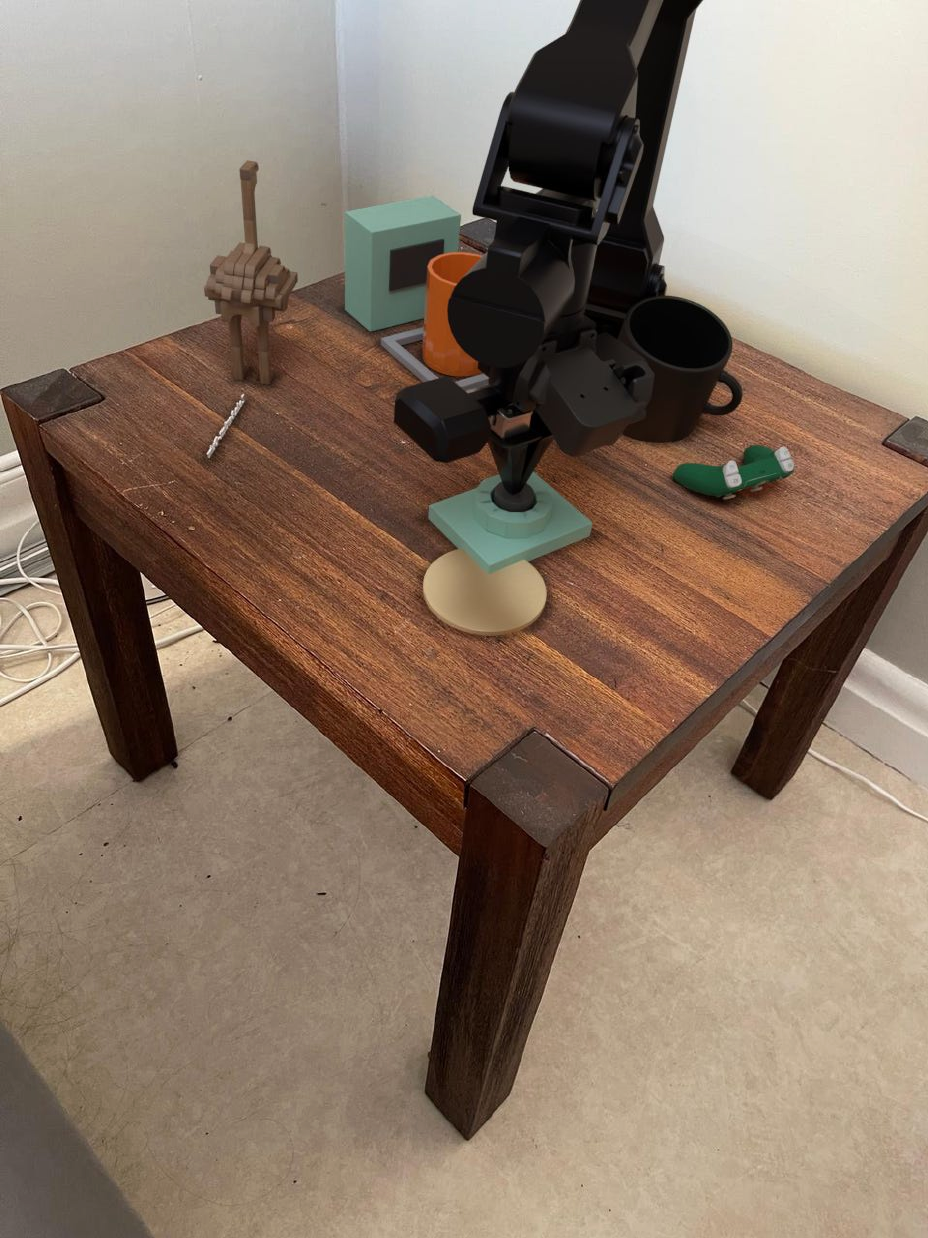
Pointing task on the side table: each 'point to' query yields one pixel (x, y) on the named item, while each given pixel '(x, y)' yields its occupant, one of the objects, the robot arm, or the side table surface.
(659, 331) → the mug
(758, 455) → the gaming controller
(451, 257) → the cup
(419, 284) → the mint block with tray
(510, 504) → the stop button
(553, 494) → the button base
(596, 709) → the side table surface
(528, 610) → the coaster
